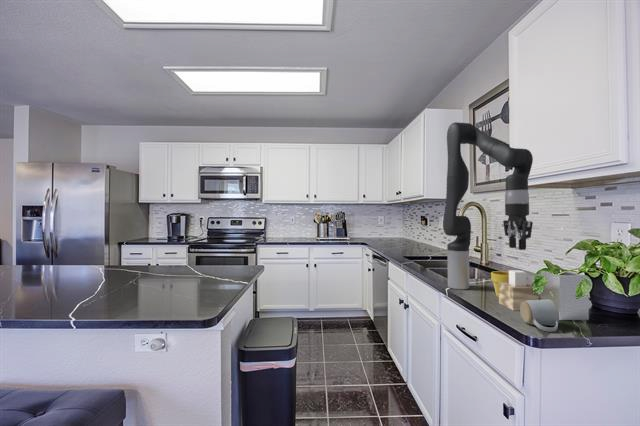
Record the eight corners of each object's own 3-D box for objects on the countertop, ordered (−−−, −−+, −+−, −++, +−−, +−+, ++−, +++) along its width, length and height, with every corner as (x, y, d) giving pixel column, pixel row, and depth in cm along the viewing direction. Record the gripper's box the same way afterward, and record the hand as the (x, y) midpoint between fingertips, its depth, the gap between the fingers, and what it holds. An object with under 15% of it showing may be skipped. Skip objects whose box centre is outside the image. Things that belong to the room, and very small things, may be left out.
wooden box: (499, 303, 119) (498, 282, 119) (522, 302, 119) (522, 282, 119) (513, 310, 110) (513, 287, 110) (538, 310, 110) (538, 287, 110)
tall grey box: (540, 311, 109) (540, 271, 109) (566, 310, 109) (566, 270, 109) (560, 320, 100) (559, 276, 100) (588, 319, 100) (588, 276, 100)
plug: (509, 294, 117) (508, 270, 117) (522, 294, 117) (521, 270, 117) (515, 297, 113) (515, 272, 113) (528, 297, 113) (528, 272, 113)
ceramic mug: (518, 319, 101) (518, 296, 101) (545, 320, 100) (545, 296, 100) (536, 332, 91) (536, 306, 91) (567, 333, 90) (567, 307, 90)
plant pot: (512, 293, 132) (512, 270, 132) (526, 300, 122) (525, 275, 122) (487, 293, 133) (486, 270, 133) (498, 300, 123) (498, 275, 123)
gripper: (495, 203, 122) (496, 246, 122) (518, 202, 108) (519, 251, 108) (515, 203, 122) (515, 246, 122) (540, 201, 108) (541, 251, 108)
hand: (517, 248), depth 115 cm, fingers open, 5 cm apart
